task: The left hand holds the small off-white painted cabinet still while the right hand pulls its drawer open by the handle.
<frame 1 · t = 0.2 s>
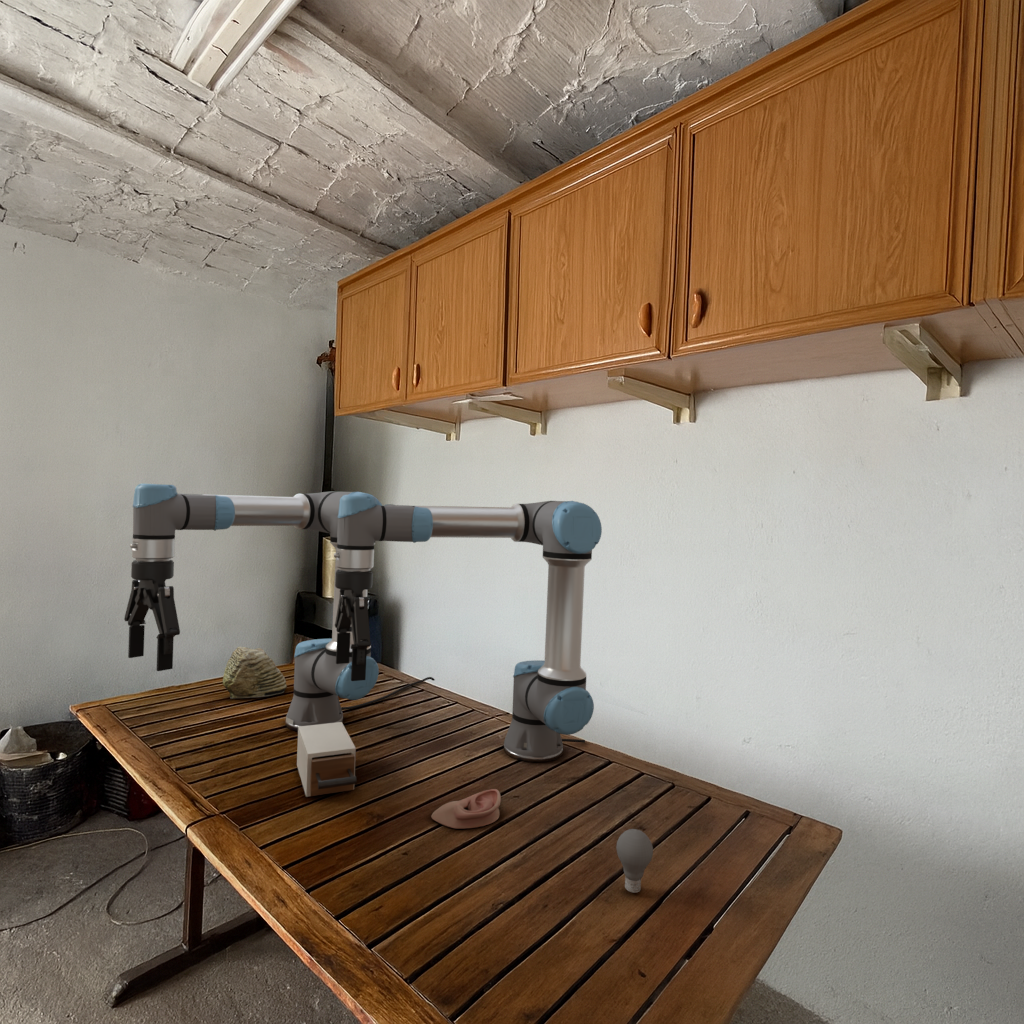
left hand: (149, 663, 129), 28 cm above the table, tool pointing down, fingers open, 13 cm apart
right hand: (349, 671, 131), 27 cm above the table, tool pointing down, fingers open, 13 cm apart
fossil: (254, 694, 198), on the table
light bulb: (632, 891, 106), on the table
drawer: (329, 766, 138), point 5 cm above the table, slide at 0.8 cm
cabinet: (324, 776, 143), on the table
anatomical model: (466, 816, 128), on the table
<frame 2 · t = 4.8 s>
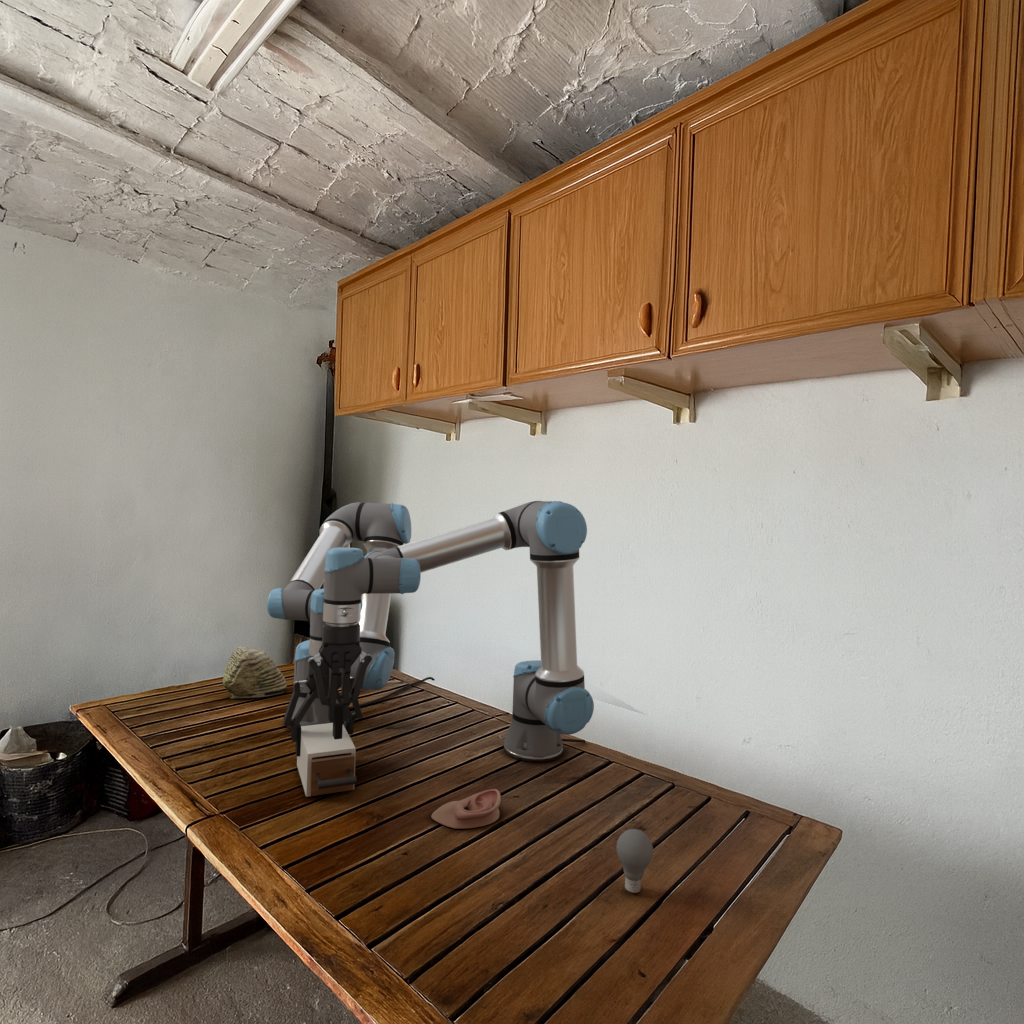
left hand: (322, 751, 147), 4 cm above the table, tool pointing down, fingers closed on cabinet, 10 cm apart
right hand: (337, 736, 131), 14 cm above the table, tool pointing down, fingers closed
cabinet: (324, 776, 143), on the table, touching left hand
everything else where it was.
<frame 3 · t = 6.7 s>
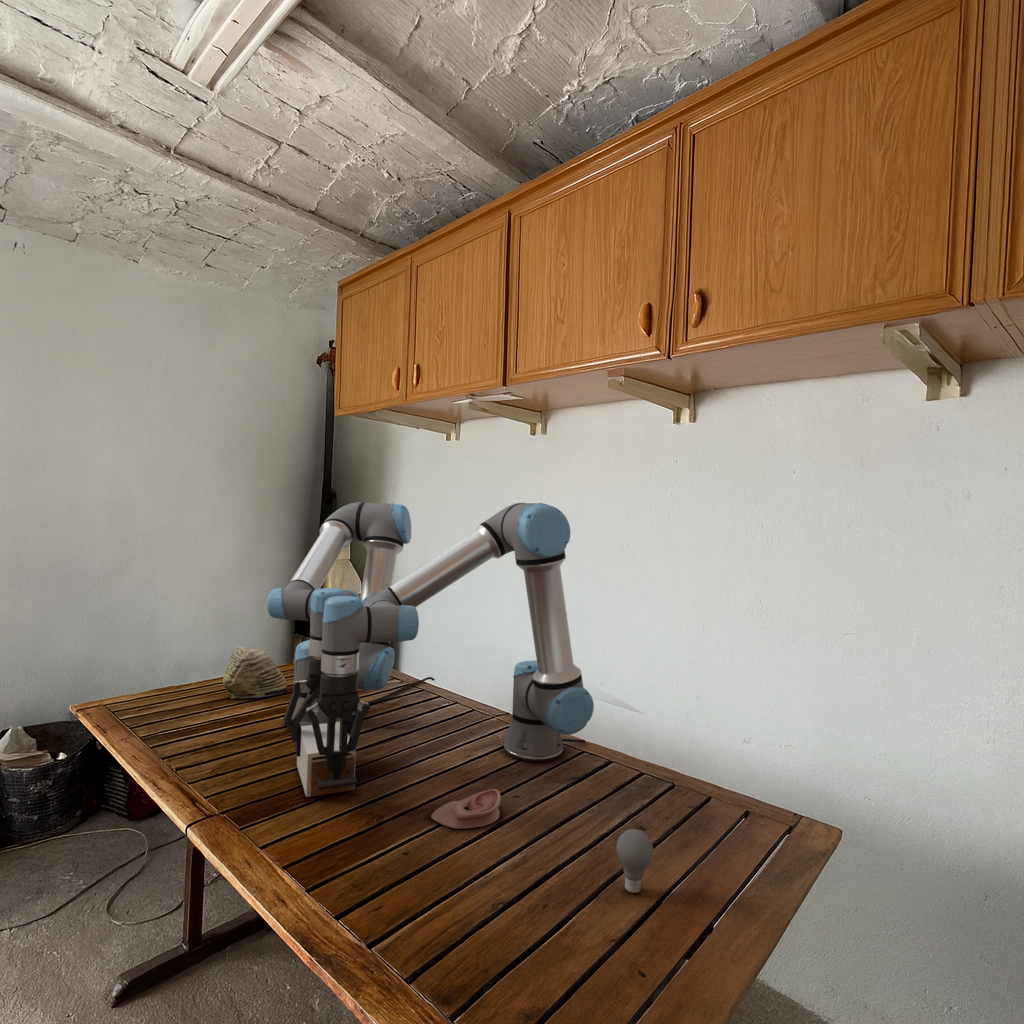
left hand: (322, 751, 147), 4 cm above the table, tool pointing down, fingers closed on cabinet, 10 cm apart
right hand: (335, 785, 131), 4 cm above the table, tool pointing down, fingers closed
drawer: (329, 767, 138), point 5 cm above the table, slide at 1.0 cm, touching right hand
cabinet: (324, 776, 143), on the table, touching left hand
everything else where it was.
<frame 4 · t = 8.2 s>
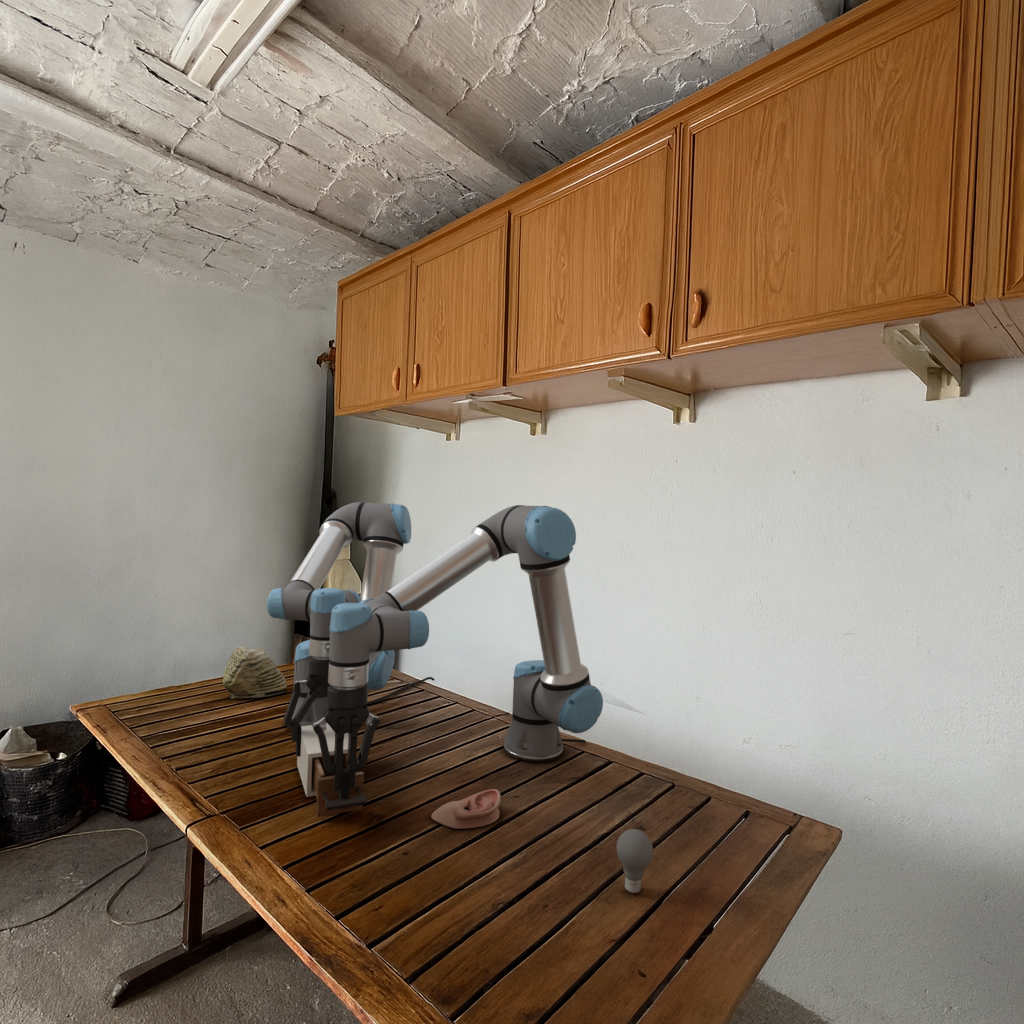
left hand: (322, 751, 147), 4 cm above the table, tool pointing down, fingers closed on cabinet, 10 cm apart
right hand: (343, 805, 123), 4 cm above the table, tool pointing down, fingers closed
drawer: (336, 784, 130), point 5 cm above the table, slide at 9.9 cm, touching right hand
cabinet: (324, 776, 143), on the table, touching left hand
everything else where it was.
when the left hand's fingers open (4 cm above the table, at t = 9.6 s): cabinet stays where it is, on the table.
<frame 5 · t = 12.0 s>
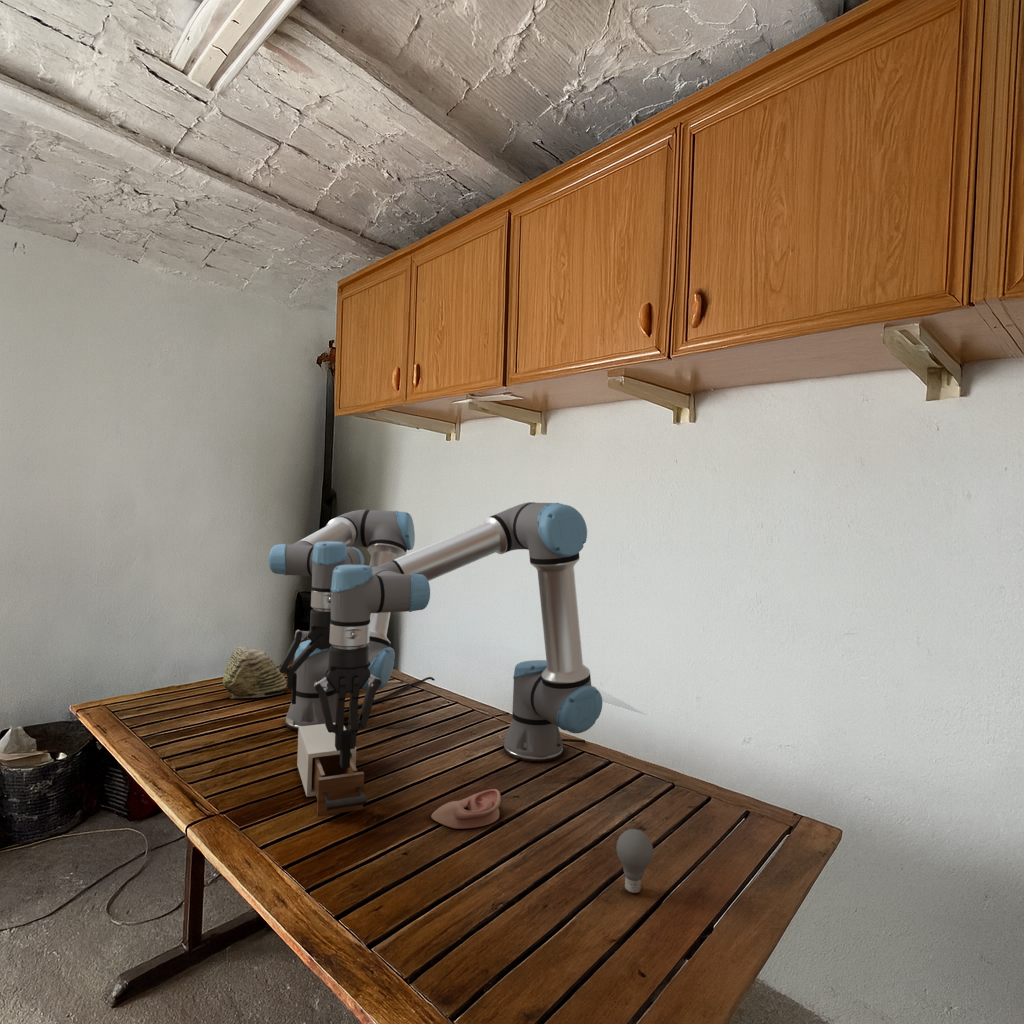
left hand: (324, 699, 147), 16 cm above the table, tool pointing down, fingers open, 13 cm apart
right hand: (344, 765, 123), 11 cm above the table, tool pointing down, fingers closed
drawer: (336, 784, 130), point 5 cm above the table, slide at 9.9 cm
cabinet: (324, 776, 143), on the table
everything else where it was.
at the end: drawer slide at 9.9 cm; cabinet tilted 0°; cabinet never tilted more than 1° during the clip; cabinet moved 0.1 cm from its start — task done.
